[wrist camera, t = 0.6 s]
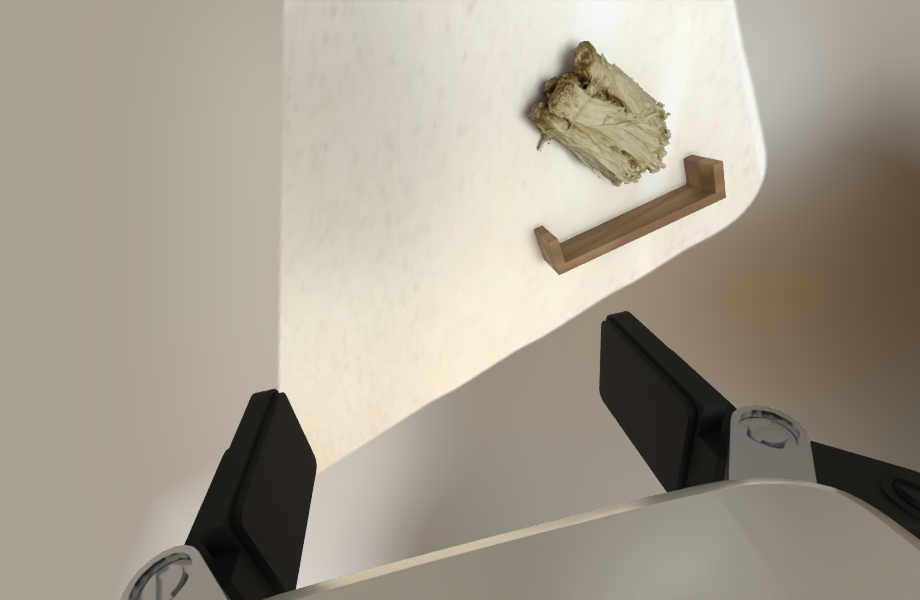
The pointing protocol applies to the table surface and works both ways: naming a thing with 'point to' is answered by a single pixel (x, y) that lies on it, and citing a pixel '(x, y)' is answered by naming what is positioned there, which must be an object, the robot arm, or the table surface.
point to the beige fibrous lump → (603, 118)
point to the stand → (638, 218)
